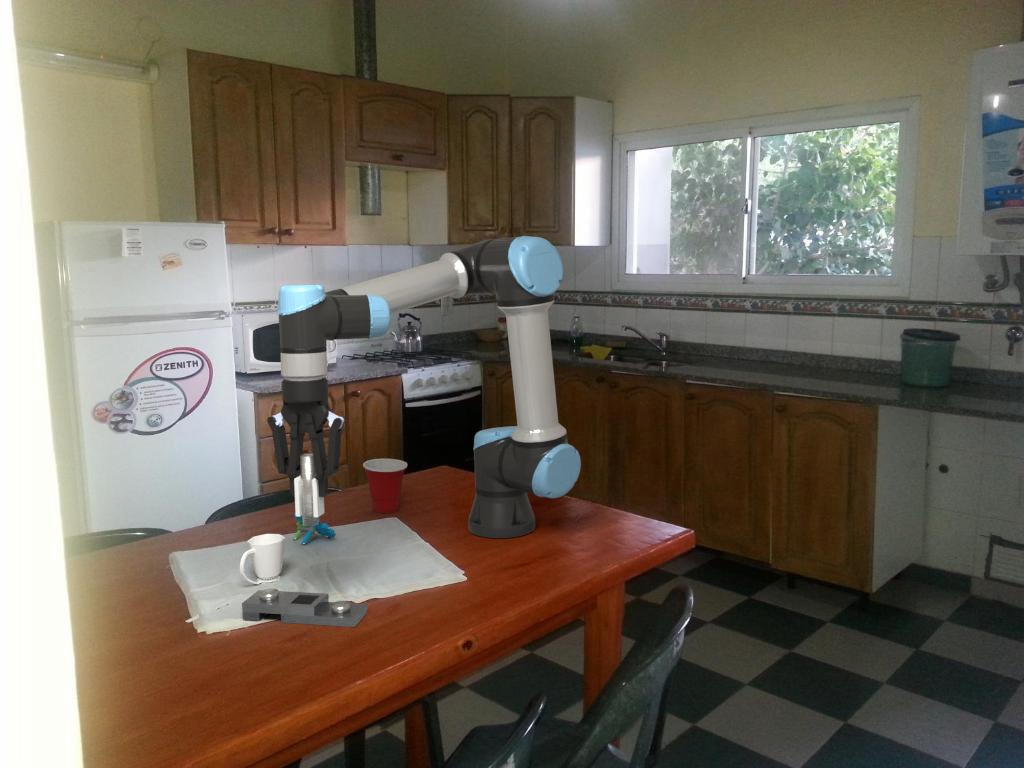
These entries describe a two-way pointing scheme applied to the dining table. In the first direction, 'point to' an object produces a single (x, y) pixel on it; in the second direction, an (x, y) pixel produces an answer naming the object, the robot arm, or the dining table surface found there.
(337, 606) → the grey bolted bracket
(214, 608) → the butter knife
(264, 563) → the cup
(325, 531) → the gear
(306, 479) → the metal pin
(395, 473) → the plastic cup
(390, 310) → the robot arm
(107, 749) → the dining table surface
